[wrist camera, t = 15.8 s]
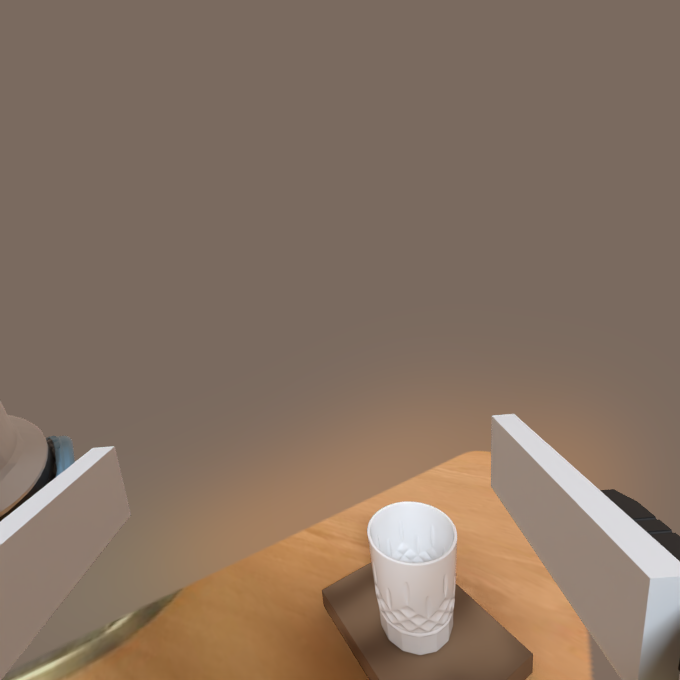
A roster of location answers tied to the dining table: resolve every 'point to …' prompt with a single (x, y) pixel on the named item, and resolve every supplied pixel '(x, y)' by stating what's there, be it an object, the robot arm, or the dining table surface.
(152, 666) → the dining table surface
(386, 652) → the walnut board
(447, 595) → the white cup
